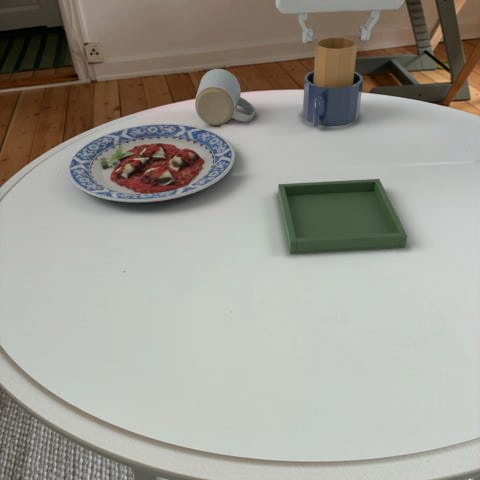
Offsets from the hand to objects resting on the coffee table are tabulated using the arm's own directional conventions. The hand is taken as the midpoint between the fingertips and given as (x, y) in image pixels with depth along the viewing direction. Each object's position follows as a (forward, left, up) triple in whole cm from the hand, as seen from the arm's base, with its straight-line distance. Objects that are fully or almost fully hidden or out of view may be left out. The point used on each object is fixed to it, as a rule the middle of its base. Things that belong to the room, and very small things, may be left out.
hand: (335, 40), depth 90 cm
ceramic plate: (+31, +17, -13) cm, 38 cm away
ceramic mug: (+19, -2, -13) cm, 23 cm away
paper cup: (0, 0, -12) cm, 12 cm away
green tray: (+5, +34, -13) cm, 37 cm away
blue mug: (+1, +1, -13) cm, 13 cm away
